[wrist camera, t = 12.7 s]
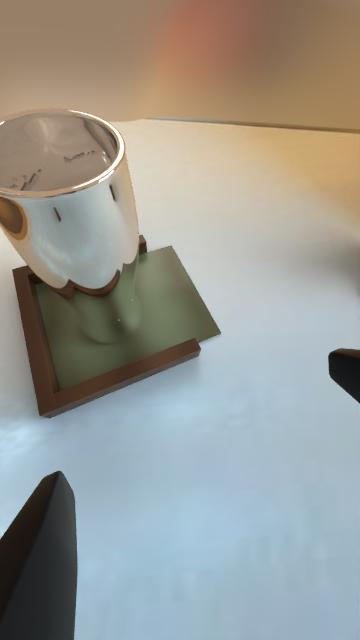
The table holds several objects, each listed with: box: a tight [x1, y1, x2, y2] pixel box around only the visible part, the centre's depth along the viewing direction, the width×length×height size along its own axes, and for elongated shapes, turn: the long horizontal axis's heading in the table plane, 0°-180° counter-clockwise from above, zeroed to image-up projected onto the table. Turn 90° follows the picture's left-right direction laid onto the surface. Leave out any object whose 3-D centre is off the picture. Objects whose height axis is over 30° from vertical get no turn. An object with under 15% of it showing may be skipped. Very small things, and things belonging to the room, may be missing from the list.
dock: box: [12, 235, 221, 418], centre depth 23 cm, size 16×14×2 cm
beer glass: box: [0, 109, 143, 344], centre depth 17 cm, size 7×7×15 cm
